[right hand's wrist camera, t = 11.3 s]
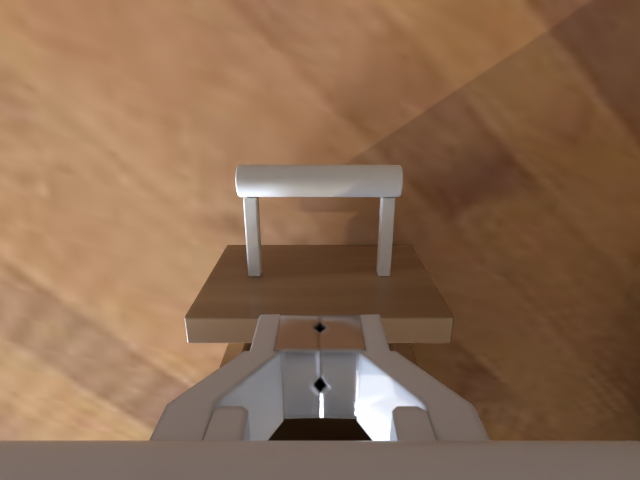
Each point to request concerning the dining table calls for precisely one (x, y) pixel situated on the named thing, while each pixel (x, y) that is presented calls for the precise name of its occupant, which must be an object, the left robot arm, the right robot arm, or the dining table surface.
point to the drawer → (319, 278)
